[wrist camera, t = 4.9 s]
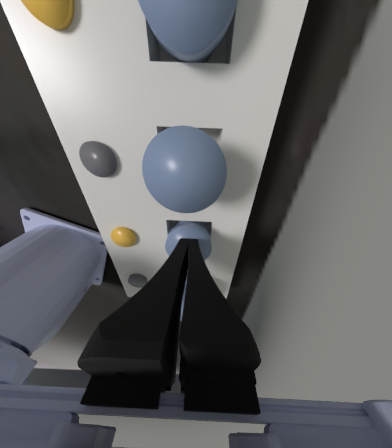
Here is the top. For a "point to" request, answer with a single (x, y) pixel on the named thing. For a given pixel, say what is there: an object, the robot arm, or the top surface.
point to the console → (157, 114)
